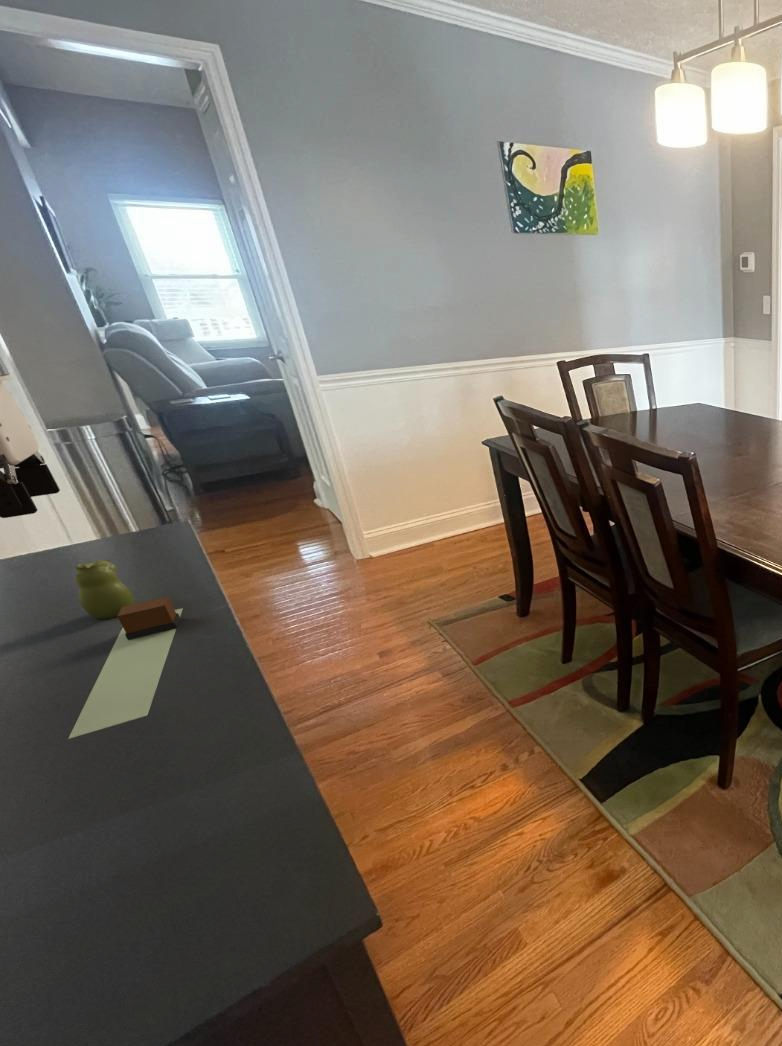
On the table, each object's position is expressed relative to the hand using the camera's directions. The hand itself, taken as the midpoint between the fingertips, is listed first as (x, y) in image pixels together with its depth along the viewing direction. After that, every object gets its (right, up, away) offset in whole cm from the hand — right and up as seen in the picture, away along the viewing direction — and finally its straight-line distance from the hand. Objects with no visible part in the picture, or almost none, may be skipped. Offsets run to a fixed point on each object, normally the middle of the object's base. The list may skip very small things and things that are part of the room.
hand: (32, 504), depth 78 cm
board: (+10, -22, +4) cm, 25 cm away
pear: (-7, -17, +17) cm, 25 cm away
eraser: (+5, -18, +11) cm, 22 cm away
